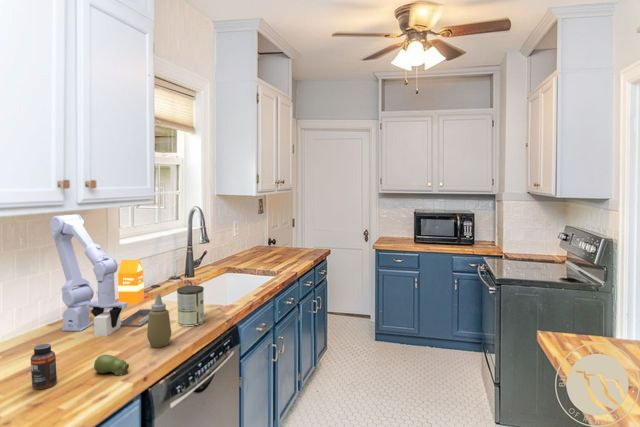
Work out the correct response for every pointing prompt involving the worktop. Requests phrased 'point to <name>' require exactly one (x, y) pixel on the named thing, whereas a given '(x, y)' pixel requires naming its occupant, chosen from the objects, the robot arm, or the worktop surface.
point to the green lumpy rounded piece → (110, 365)
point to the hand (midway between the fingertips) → (107, 326)
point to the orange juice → (130, 282)
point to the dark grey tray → (136, 318)
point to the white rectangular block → (104, 324)
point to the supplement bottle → (43, 367)
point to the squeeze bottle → (158, 324)
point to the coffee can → (190, 305)
